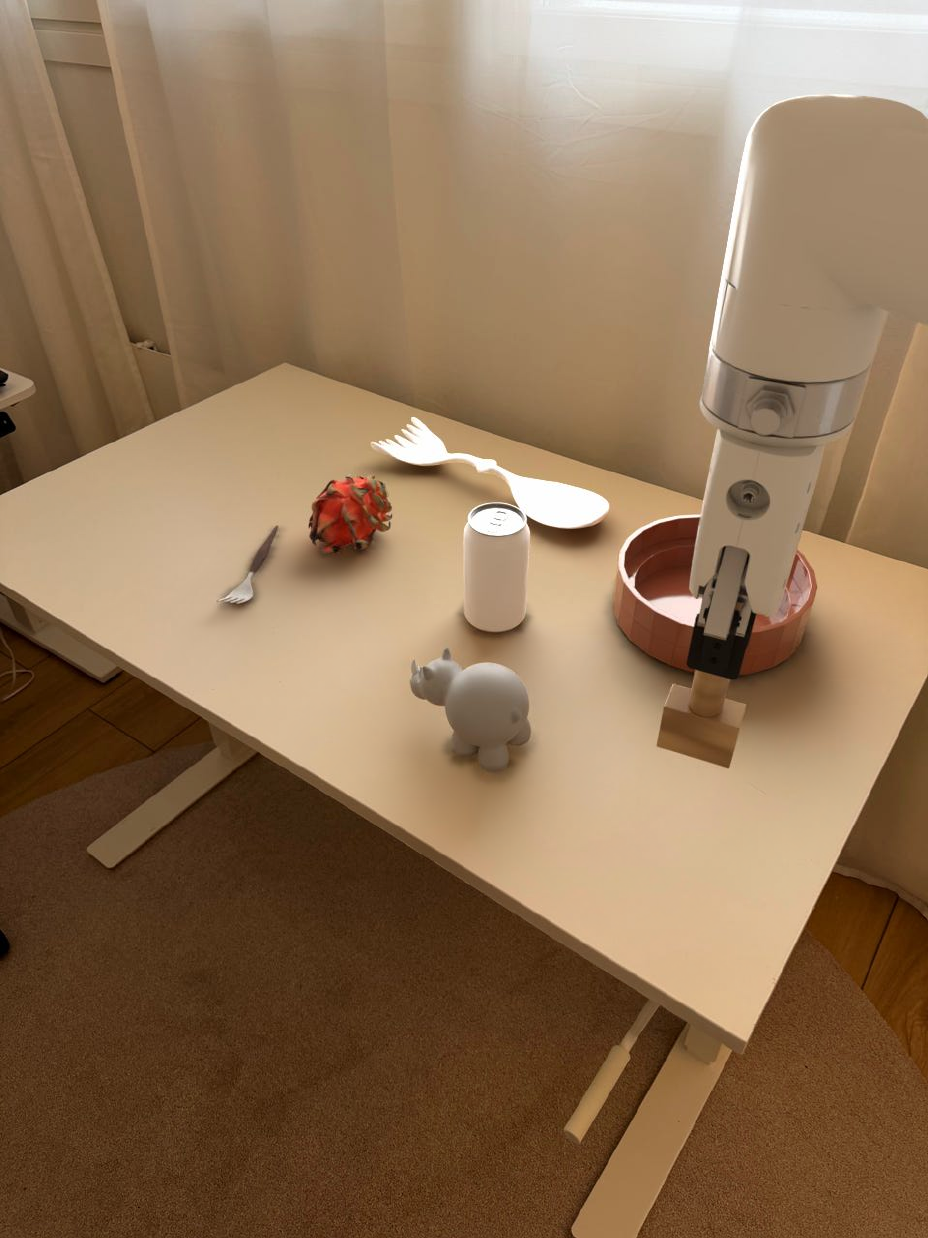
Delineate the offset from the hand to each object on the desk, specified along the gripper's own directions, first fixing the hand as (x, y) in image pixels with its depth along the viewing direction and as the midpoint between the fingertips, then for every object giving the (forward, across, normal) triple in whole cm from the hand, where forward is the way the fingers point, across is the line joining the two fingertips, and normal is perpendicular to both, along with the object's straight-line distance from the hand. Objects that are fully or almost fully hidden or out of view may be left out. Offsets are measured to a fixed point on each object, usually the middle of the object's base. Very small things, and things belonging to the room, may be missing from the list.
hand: (717, 654), depth 56 cm
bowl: (+22, +31, +4) cm, 38 cm away
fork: (+22, +18, +51) cm, 58 cm away
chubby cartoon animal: (+22, +6, +20) cm, 30 cm away
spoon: (+22, +44, +34) cm, 60 cm away
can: (+22, +22, +24) cm, 39 cm away
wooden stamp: (+9, 0, 0) cm, 9 cm away
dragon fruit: (+22, +27, +44) cm, 56 cm away
